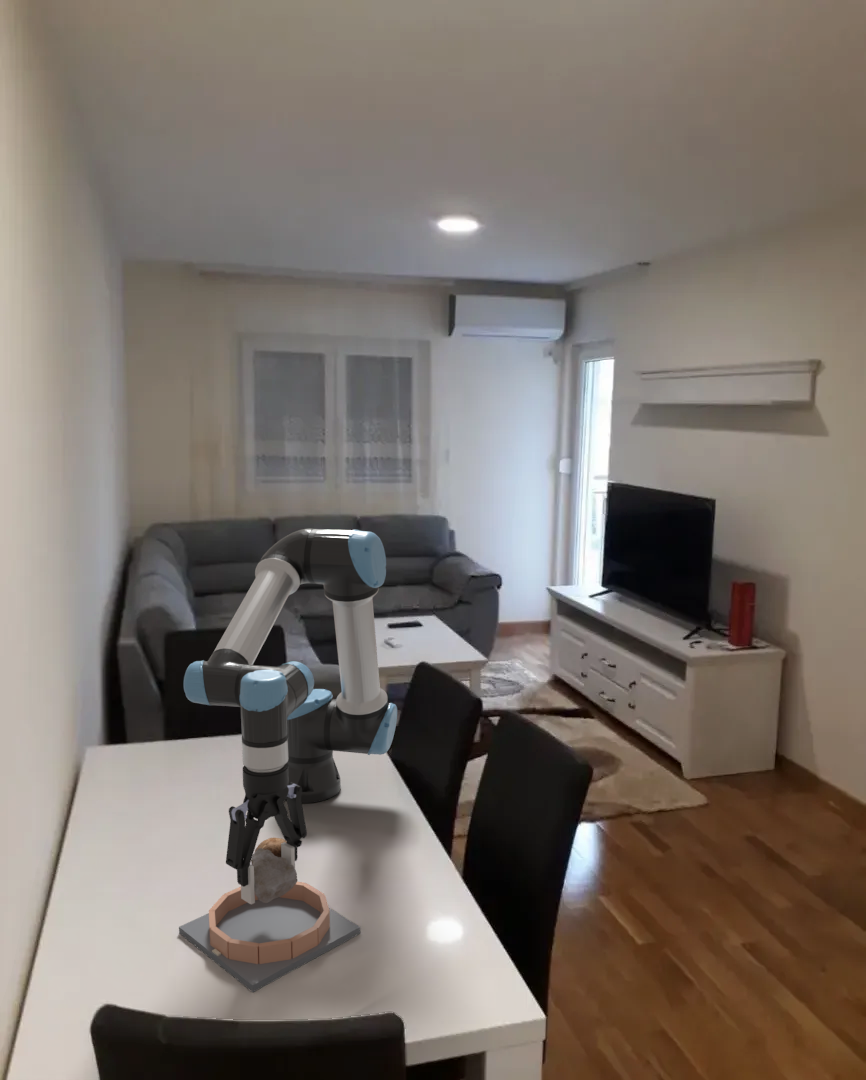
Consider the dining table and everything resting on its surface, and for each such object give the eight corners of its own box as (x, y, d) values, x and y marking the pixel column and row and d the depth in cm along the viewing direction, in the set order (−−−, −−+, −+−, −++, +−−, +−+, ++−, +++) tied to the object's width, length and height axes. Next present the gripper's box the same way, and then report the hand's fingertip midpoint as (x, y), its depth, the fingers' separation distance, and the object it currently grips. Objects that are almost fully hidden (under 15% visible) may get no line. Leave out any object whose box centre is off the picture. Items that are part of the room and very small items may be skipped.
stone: (233, 885, 157) (232, 854, 156) (274, 870, 162) (273, 839, 161) (261, 910, 150) (260, 877, 149) (303, 893, 155) (303, 861, 154)
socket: (283, 884, 172) (283, 864, 171) (360, 933, 157) (360, 910, 156) (179, 933, 156) (178, 910, 156) (252, 992, 141) (252, 967, 140)
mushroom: (304, 846, 180) (284, 825, 178) (287, 879, 173) (266, 857, 171) (278, 855, 184) (258, 834, 182) (260, 887, 177) (239, 866, 176)
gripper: (298, 740, 162) (301, 859, 165) (199, 777, 146) (204, 907, 150) (327, 751, 157) (329, 874, 160) (227, 790, 141) (231, 925, 145)
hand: (268, 890), depth 155 cm, fingers closed on stone, 8 cm apart
